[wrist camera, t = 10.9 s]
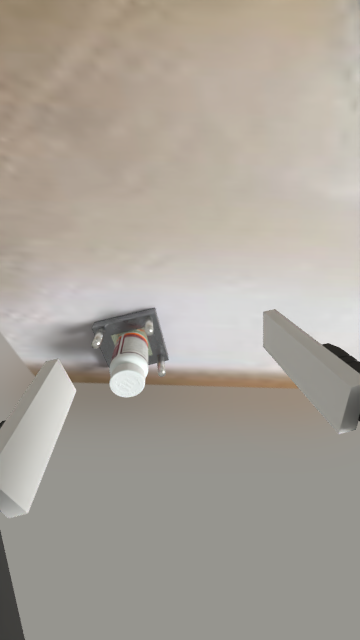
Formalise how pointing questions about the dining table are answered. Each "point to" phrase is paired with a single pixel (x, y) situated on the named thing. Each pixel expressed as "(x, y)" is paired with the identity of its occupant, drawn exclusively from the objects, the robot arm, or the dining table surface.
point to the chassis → (134, 322)
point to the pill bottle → (129, 364)
